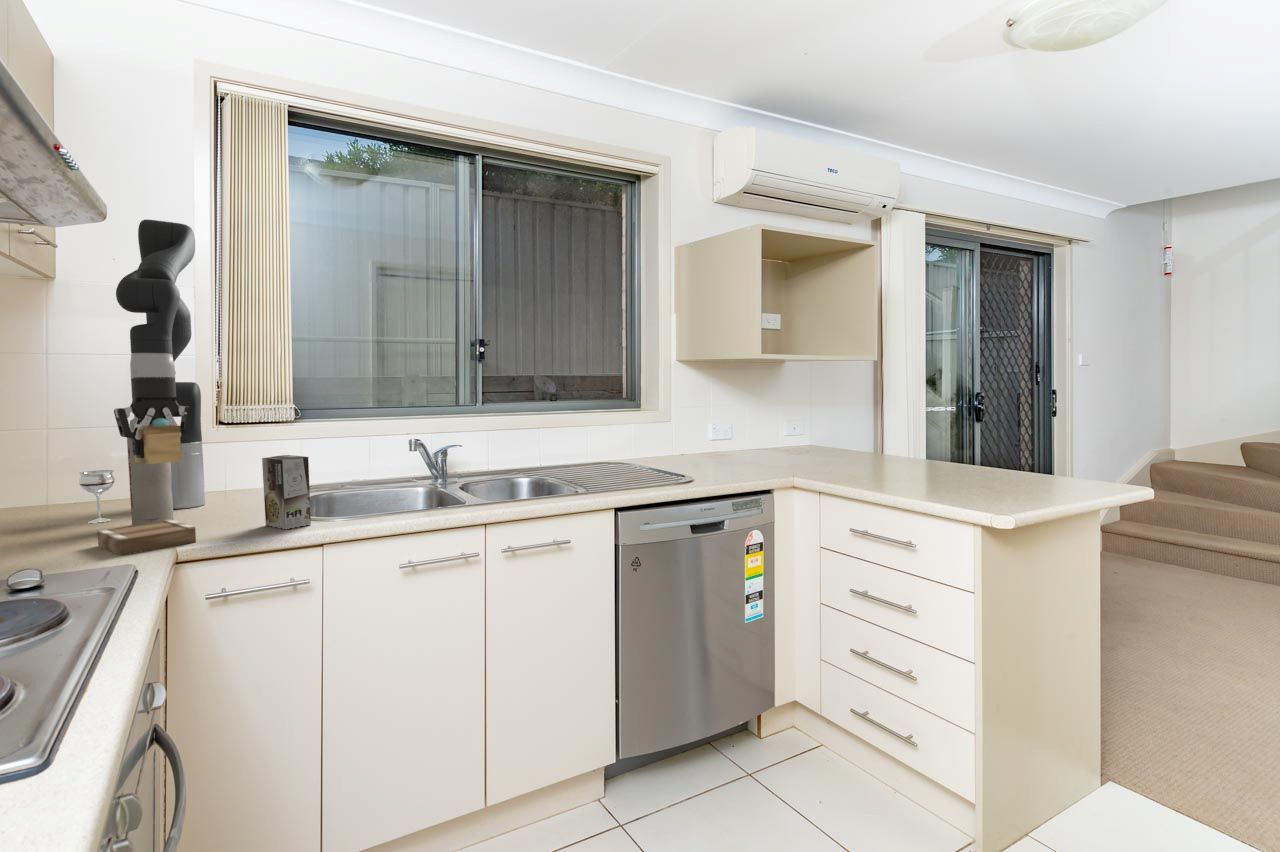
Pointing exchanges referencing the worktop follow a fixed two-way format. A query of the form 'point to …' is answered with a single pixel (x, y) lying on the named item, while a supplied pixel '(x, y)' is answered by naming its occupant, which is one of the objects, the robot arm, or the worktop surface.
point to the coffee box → (286, 491)
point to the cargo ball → (159, 422)
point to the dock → (146, 537)
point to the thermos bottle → (149, 489)
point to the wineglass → (97, 486)
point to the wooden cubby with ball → (161, 444)
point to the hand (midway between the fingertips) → (157, 456)
